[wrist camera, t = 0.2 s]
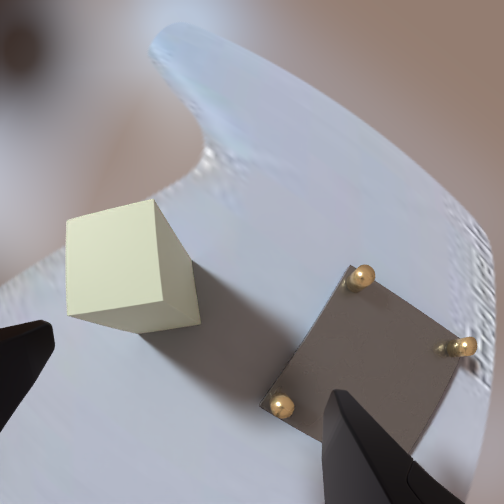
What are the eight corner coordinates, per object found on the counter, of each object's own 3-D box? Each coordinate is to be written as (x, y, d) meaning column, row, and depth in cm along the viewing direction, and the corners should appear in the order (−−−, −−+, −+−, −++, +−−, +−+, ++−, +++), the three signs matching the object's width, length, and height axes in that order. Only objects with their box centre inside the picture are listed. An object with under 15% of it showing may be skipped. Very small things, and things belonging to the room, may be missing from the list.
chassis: (459, 343, 22) (483, 340, 19) (387, 473, 19) (404, 486, 16) (346, 268, 24) (359, 254, 21) (259, 404, 21) (259, 412, 18)
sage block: (201, 324, 23) (163, 300, 13) (137, 334, 23) (67, 315, 13) (191, 259, 25) (153, 198, 15) (131, 271, 24) (66, 220, 15)
